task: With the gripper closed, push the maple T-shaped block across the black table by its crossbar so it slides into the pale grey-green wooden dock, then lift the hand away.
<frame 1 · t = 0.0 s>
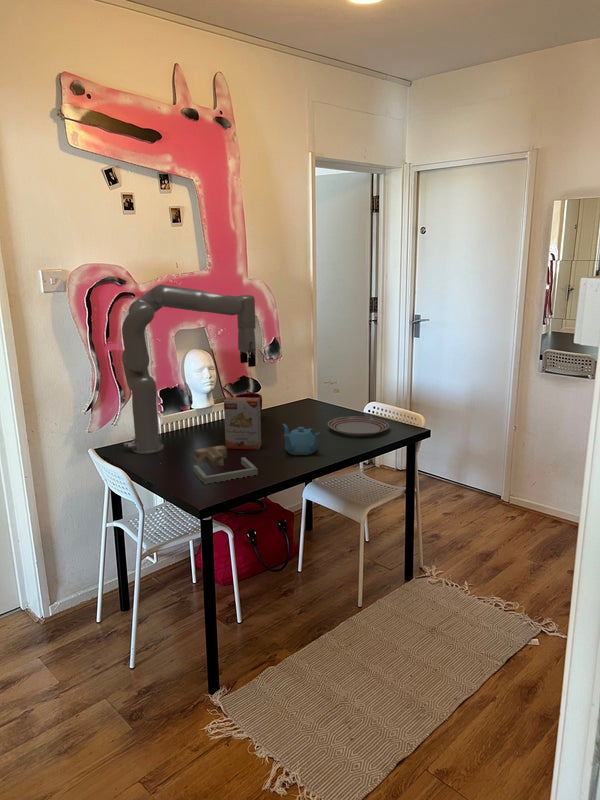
hand: (248, 364, 260), 31 cm above the table, tool pointing down, fingers open, 9 cm apart
teapot: (299, 452, 243), on the table
dinner plate: (358, 431, 271), on the table
t block: (212, 460, 235), on the table
dock: (225, 473, 221), on the table
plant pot: (249, 420, 289), on the table
cracker box: (243, 448, 250), on the table
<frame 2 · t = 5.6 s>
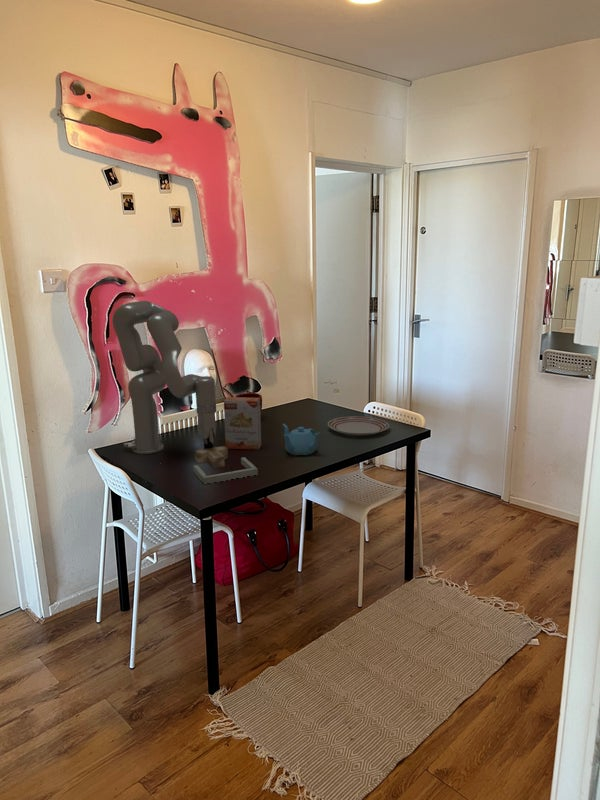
hand: (208, 452, 240), 1 cm above the table, tool pointing down, fingers closed
t block: (213, 461, 234), on the table, touching gripper
everything else where it was.
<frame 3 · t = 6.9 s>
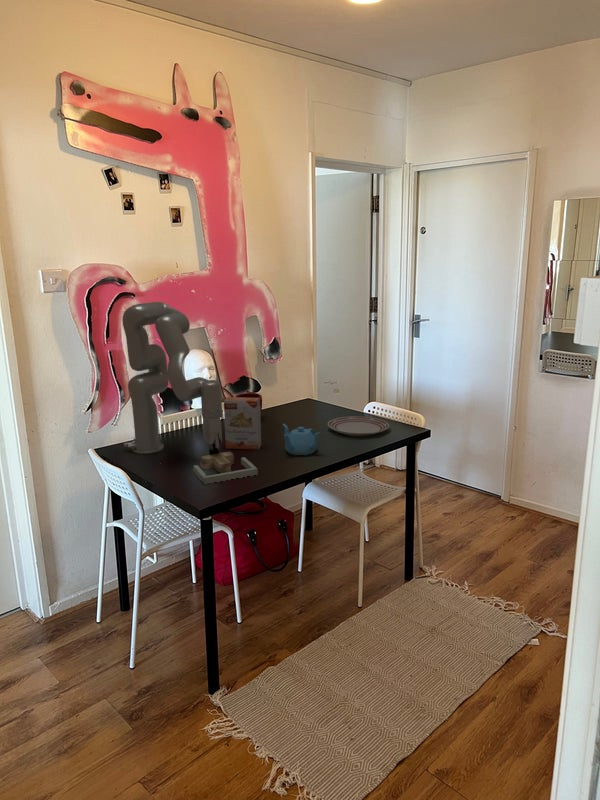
hand: (214, 458, 233), 1 cm above the table, tool pointing down, fingers closed
t block: (219, 467, 228), on the table, touching gripper
everything else where it was.
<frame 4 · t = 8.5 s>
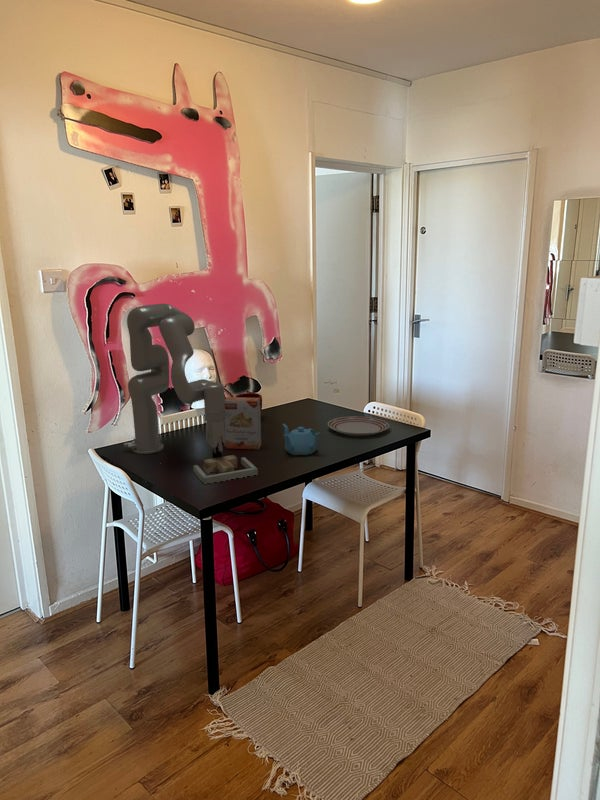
hand: (217, 462, 229), 1 cm above the table, tool pointing down, fingers closed
t block: (222, 471, 224), on the table
everything else where it was.
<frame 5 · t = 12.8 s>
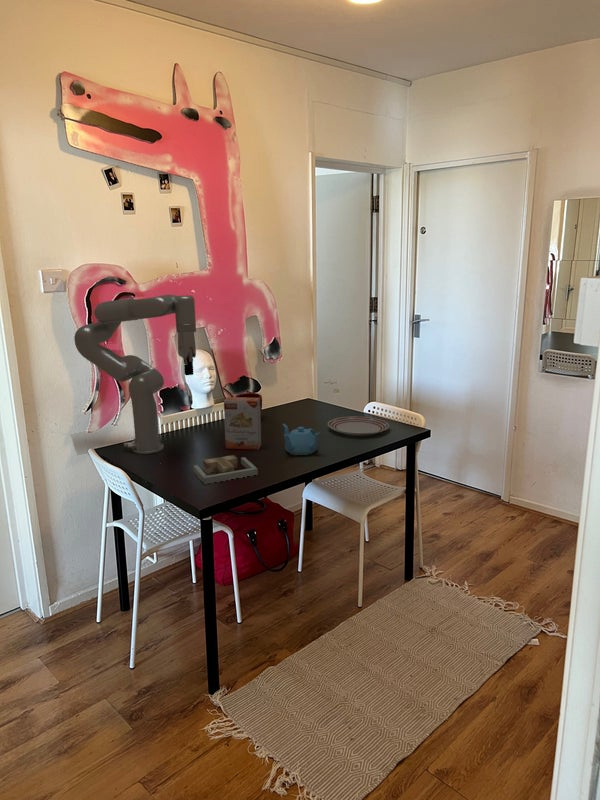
hand: (189, 374, 237), 32 cm above the table, tool pointing down, fingers closed
nothing on the table moved.
at the end: t block inside the target area on the dock (1.0 cm from its centre), point 0.0 cm above the dock's base; t block tilted 0°; t block moved 13.0 cm from its start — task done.
